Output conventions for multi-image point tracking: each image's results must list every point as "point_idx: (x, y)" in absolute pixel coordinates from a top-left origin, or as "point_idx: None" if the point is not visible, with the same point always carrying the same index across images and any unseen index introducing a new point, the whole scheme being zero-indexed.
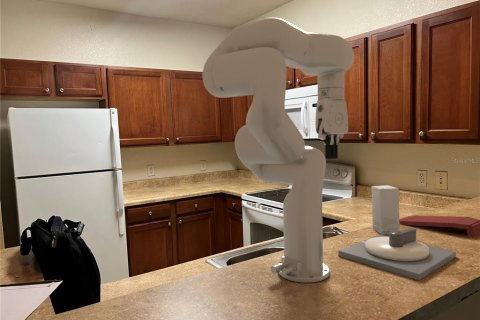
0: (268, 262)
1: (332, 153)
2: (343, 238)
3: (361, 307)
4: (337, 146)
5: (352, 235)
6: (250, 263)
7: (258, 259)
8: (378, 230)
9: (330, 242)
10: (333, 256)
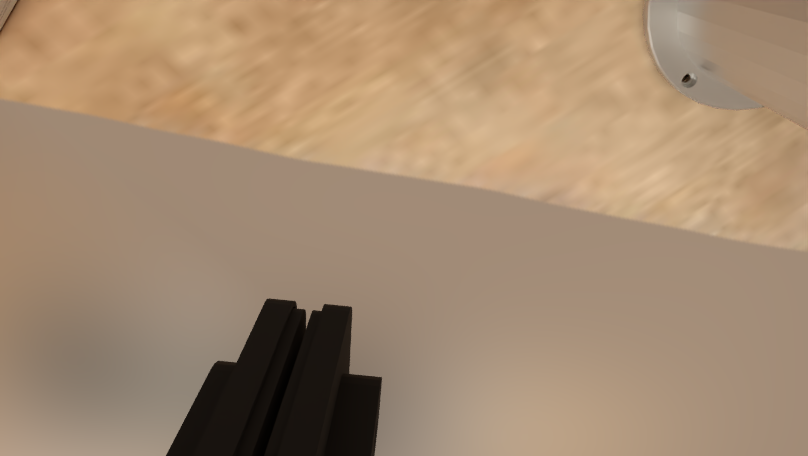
0: (720, 176)
1: (340, 381)
2: (234, 104)
3: None
4: (206, 436)
5: (160, 94)
6: (766, 220)
7: (710, 224)
8: (7, 9)
9: (331, 120)
10: (494, 3)
